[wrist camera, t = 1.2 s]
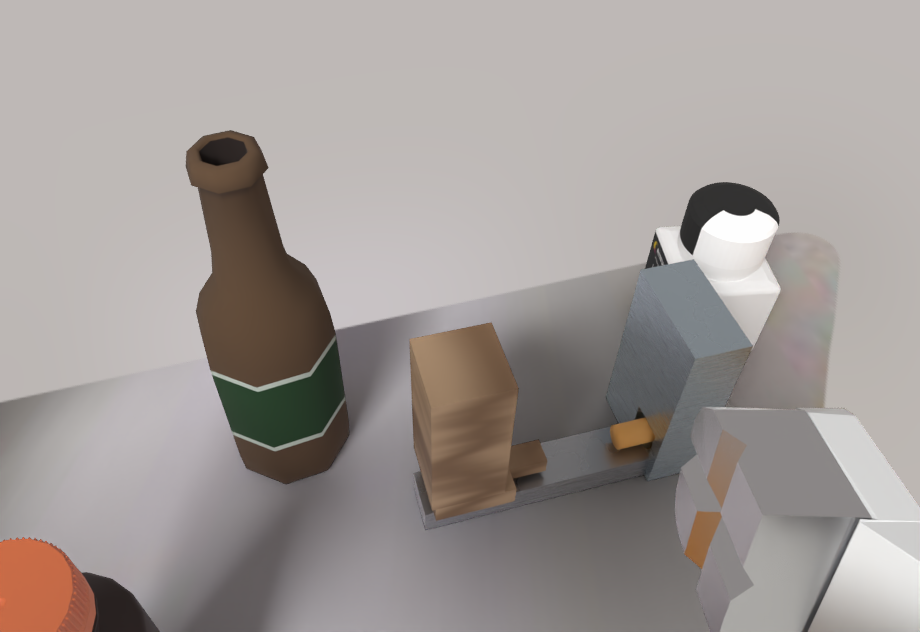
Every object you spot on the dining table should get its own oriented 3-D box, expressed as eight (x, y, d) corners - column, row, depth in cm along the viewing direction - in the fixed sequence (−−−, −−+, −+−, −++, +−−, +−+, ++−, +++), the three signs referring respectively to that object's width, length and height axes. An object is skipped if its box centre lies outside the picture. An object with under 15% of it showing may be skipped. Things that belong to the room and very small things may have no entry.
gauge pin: (618, 454, 51) (622, 440, 50) (608, 434, 52) (612, 420, 51) (688, 437, 52) (694, 423, 51) (677, 417, 53) (682, 403, 52)
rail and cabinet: (427, 537, 49) (425, 419, 40) (401, 444, 54) (394, 318, 44) (695, 469, 53) (753, 346, 43) (650, 387, 57) (693, 259, 48)
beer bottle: (304, 373, 58) (244, 82, 40) (374, 438, 54) (343, 151, 36) (213, 436, 54) (100, 146, 36) (281, 510, 50) (195, 230, 32)
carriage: (432, 522, 48) (431, 407, 39) (414, 459, 50) (409, 339, 41) (553, 492, 49) (579, 375, 40) (529, 432, 52) (548, 311, 43)
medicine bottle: (637, 291, 64) (669, 172, 55) (722, 286, 64) (768, 167, 55) (661, 360, 59) (701, 243, 50) (752, 354, 60) (808, 237, 51)
